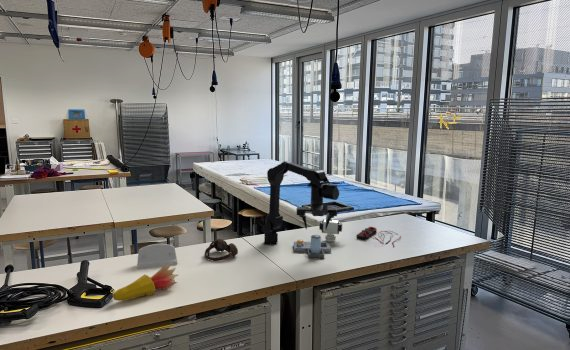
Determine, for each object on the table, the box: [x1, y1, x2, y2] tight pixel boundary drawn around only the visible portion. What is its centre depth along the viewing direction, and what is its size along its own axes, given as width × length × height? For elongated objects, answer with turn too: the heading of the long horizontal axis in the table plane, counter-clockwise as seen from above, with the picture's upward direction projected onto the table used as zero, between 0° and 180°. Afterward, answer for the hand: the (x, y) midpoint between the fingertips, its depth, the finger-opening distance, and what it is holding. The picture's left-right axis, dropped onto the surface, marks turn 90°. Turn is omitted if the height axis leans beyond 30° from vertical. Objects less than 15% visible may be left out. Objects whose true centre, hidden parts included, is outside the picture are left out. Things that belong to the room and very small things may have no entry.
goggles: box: [204, 238, 239, 262], centre depth 177 cm, size 15×13×10 cm
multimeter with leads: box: [356, 226, 401, 248], centre depth 210 cm, size 23×4×25 cm
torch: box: [112, 262, 180, 301], centre depth 139 cm, size 8×8×25 cm
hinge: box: [136, 243, 178, 270], centre depth 167 cm, size 17×5×10 cm, turn 109°
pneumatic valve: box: [318, 218, 343, 243], centre depth 203 cm, size 6×12×12 cm, turn 76°
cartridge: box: [310, 234, 322, 254], centre depth 180 cm, size 5×5×9 cm
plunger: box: [296, 239, 304, 246], centre depth 190 cm, size 3×3×4 cm
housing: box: [293, 241, 332, 254], centre depth 190 cm, size 18×10×2 cm, turn 90°
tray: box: [306, 249, 325, 260], centre depth 181 cm, size 7×7×2 cm
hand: (315, 229), depth 180 cm, fingers open, 9 cm apart
